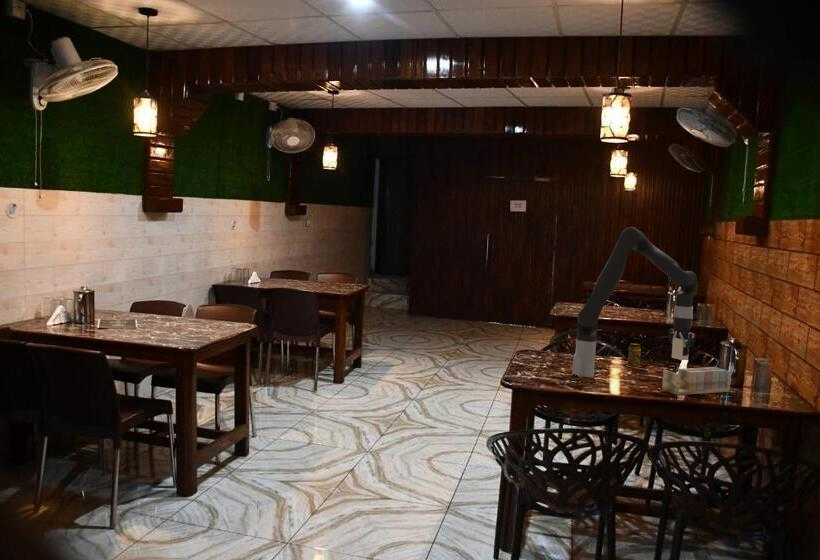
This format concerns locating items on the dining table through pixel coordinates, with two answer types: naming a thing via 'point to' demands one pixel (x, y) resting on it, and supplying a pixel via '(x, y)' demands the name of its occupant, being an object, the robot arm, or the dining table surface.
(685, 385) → the pastel slab stack
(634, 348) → the condiment
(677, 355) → the cream block
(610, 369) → the dining table surface
